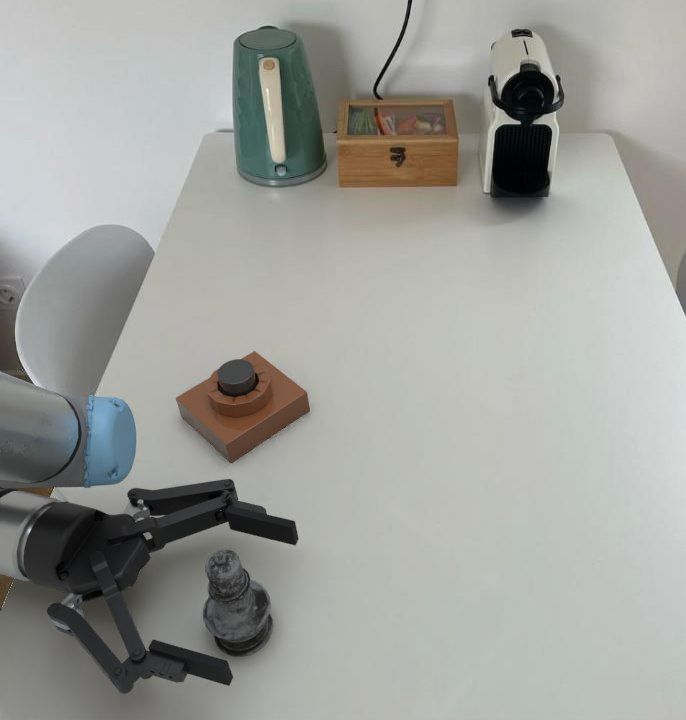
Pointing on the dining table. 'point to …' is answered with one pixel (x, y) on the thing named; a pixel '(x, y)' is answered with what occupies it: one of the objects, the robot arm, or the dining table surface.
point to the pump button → (237, 378)
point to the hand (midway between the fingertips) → (264, 598)
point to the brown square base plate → (243, 409)
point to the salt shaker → (236, 606)
